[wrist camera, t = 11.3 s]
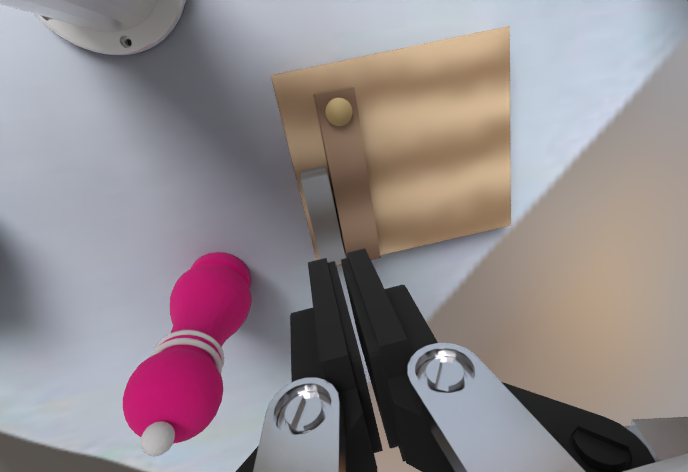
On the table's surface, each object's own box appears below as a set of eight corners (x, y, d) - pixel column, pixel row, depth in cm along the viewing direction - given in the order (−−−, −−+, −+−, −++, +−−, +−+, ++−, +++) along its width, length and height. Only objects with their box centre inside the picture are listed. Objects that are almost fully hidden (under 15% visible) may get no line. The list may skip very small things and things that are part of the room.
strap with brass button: (313, 93, 30) (315, 94, 26) (348, 86, 30) (355, 86, 27) (344, 250, 35) (349, 267, 32) (373, 244, 36) (382, 260, 32)
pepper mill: (256, 248, 38) (218, 402, 19) (255, 307, 40) (221, 492, 22) (183, 245, 37) (69, 404, 18) (186, 306, 39) (91, 498, 21)
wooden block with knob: (272, 76, 32) (267, 74, 26) (491, 31, 33) (535, 18, 27) (317, 256, 39) (321, 287, 33) (495, 215, 40) (531, 238, 34)
